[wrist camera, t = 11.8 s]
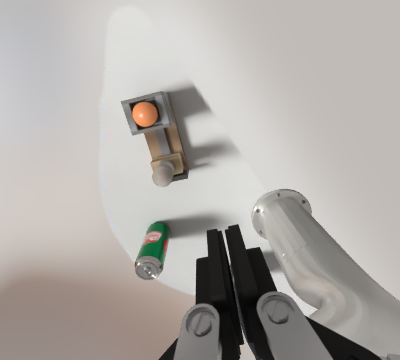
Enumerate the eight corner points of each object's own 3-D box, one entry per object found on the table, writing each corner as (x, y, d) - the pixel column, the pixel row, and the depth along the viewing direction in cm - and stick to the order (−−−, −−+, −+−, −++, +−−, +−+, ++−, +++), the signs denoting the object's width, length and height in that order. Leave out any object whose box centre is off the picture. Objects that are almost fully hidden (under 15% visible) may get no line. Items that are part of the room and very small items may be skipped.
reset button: (162, 121, 34) (159, 123, 31) (141, 126, 34) (137, 129, 32) (155, 99, 33) (152, 99, 30) (134, 104, 33) (129, 105, 30)
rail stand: (188, 170, 44) (186, 185, 36) (160, 176, 44) (152, 193, 37) (168, 92, 38) (160, 91, 31) (135, 100, 39) (120, 101, 31)
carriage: (183, 167, 41) (180, 183, 34) (158, 173, 41) (149, 190, 34) (179, 152, 40) (175, 165, 32) (153, 158, 40) (143, 172, 33)
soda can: (163, 217, 48) (152, 255, 36) (174, 234, 49) (167, 275, 38) (143, 226, 48) (127, 266, 37) (155, 243, 50) (143, 285, 39)
